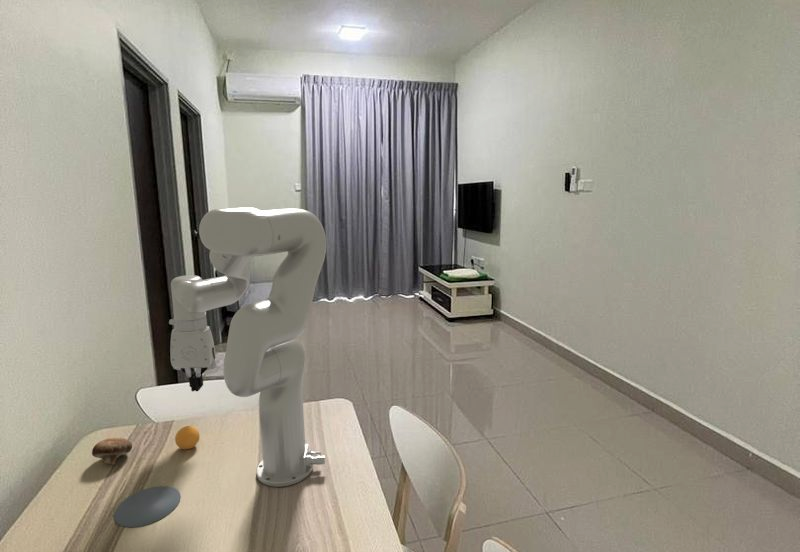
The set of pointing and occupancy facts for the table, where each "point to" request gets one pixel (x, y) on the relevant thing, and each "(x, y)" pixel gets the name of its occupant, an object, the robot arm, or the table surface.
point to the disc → (147, 506)
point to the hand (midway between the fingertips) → (196, 388)
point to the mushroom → (111, 449)
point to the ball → (187, 437)
